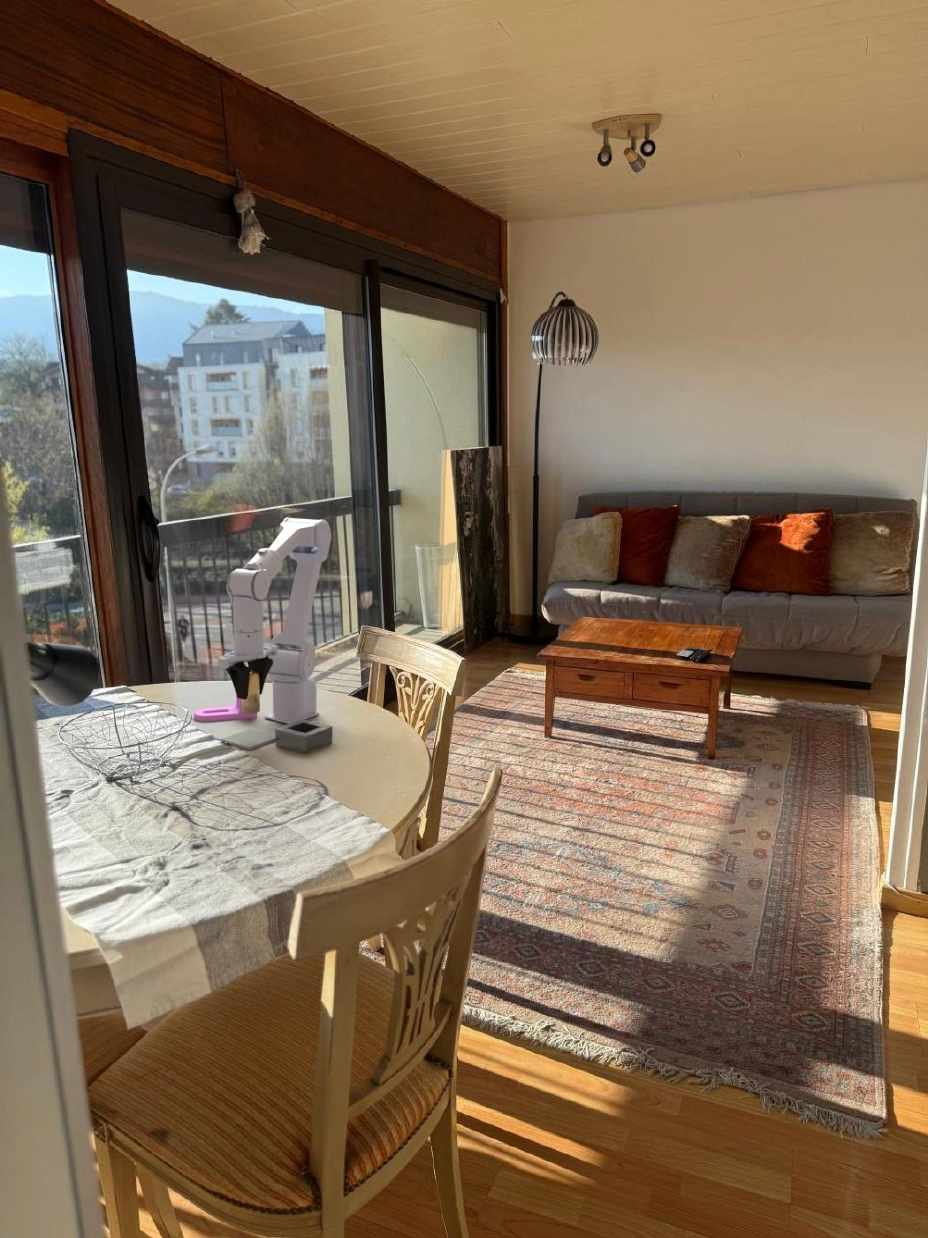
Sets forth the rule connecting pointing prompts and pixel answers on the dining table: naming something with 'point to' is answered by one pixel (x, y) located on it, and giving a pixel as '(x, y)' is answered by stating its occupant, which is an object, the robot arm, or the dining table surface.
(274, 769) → the dining table surface
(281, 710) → the robot arm
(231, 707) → the bracket
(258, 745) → the mat
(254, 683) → the key peg
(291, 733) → the block
